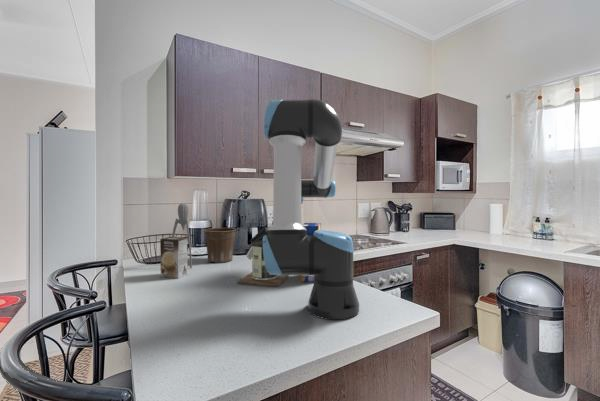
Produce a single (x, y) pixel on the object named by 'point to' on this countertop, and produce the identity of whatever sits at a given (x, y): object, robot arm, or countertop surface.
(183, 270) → the coffee box
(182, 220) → the citrus juicer
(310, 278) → the beverage box
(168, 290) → the countertop surface
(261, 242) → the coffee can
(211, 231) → the plant pot
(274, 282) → the walnut board
